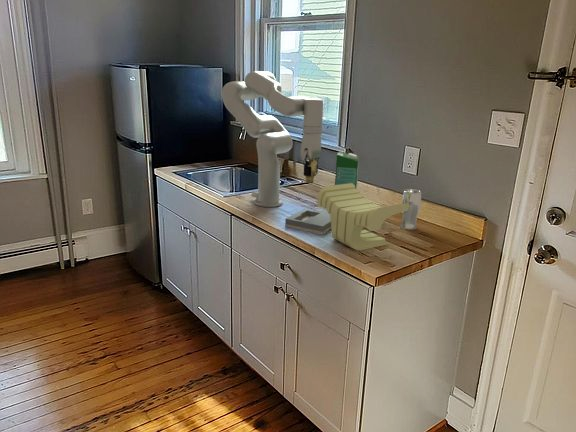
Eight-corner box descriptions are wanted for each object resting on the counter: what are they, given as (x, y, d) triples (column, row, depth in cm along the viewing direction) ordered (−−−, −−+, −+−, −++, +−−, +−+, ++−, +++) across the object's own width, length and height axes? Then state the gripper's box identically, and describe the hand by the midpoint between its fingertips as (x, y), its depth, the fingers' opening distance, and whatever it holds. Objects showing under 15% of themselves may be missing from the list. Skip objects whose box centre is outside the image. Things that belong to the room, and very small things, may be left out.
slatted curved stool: (315, 232, 180) (318, 187, 175) (349, 226, 188) (352, 182, 183) (367, 260, 156) (372, 208, 150) (403, 252, 164) (409, 202, 158)
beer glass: (407, 231, 185) (411, 194, 180) (395, 226, 191) (399, 189, 186) (421, 229, 188) (425, 192, 183) (409, 223, 194) (413, 188, 189)
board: (285, 226, 186) (285, 218, 185) (304, 216, 199) (304, 208, 198) (322, 234, 179) (322, 226, 178) (339, 223, 192) (340, 215, 191)
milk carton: (354, 213, 205) (358, 155, 198) (333, 211, 207) (336, 154, 199) (355, 207, 214) (359, 152, 206) (335, 205, 215) (339, 150, 208)
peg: (300, 182, 196) (301, 160, 194) (306, 180, 201) (307, 159, 198) (312, 184, 194) (313, 162, 191) (317, 182, 198) (319, 160, 196)
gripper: (313, 127, 200) (311, 170, 205) (294, 131, 185) (292, 177, 191) (329, 129, 196) (327, 172, 202) (311, 133, 182) (309, 179, 187)
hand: (310, 174), depth 196 cm, fingers closed on peg, 5 cm apart
